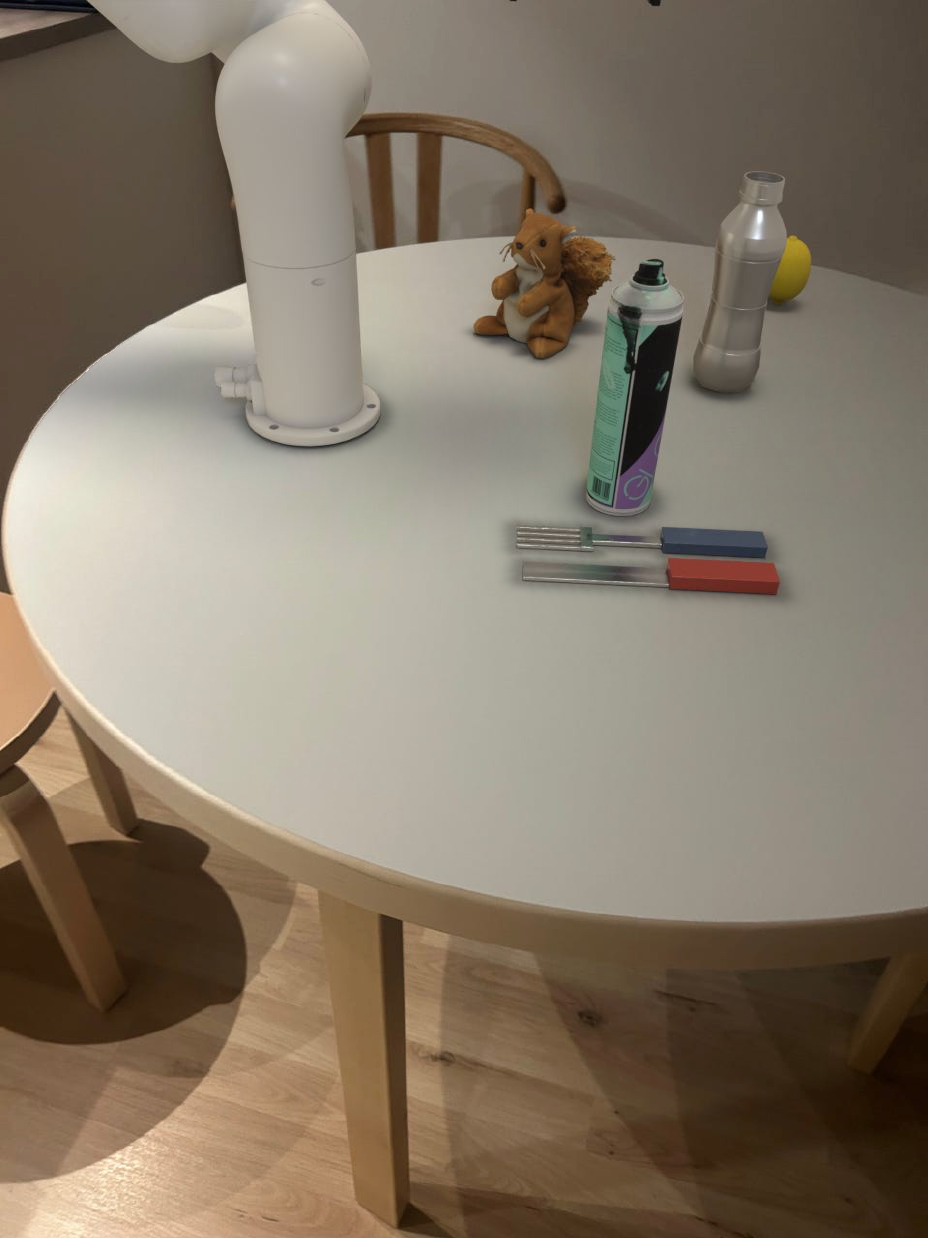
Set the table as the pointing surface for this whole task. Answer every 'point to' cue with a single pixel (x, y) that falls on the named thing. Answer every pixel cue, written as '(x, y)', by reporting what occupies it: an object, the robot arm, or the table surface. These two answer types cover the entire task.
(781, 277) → the lemon
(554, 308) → the stuffed squirrel
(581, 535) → the fork
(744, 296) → the plastic bottle
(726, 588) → the knife
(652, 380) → the spray can
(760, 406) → the table surface
